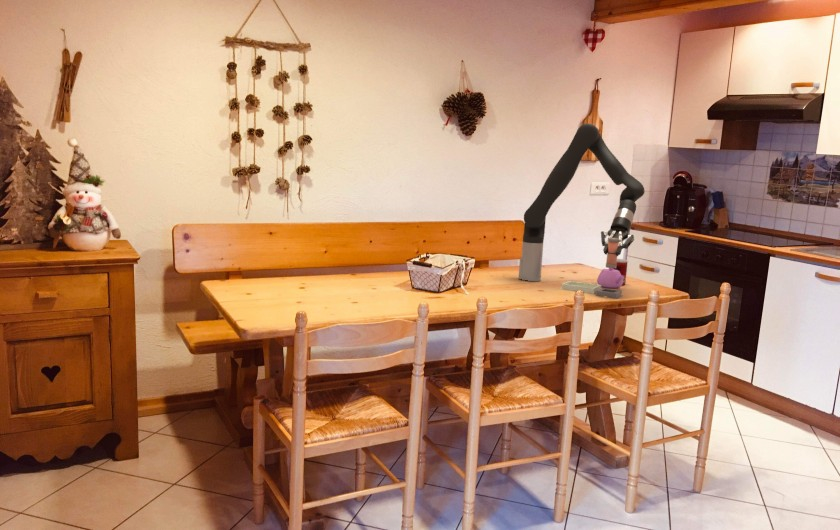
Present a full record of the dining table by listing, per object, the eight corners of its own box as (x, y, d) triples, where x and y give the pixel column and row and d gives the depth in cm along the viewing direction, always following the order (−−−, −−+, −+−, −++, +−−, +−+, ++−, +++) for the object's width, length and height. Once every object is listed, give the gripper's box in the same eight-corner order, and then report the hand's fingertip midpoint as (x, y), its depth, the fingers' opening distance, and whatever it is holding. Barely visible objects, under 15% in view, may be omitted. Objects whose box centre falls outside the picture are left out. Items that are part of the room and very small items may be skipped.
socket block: (593, 297, 286) (594, 291, 286) (601, 293, 295) (602, 287, 295) (616, 301, 282) (616, 294, 281) (623, 296, 291) (623, 290, 290)
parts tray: (561, 290, 298) (561, 283, 297) (569, 287, 306) (569, 280, 306) (593, 295, 291) (594, 288, 290) (600, 292, 299) (601, 285, 299)
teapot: (609, 284, 317) (611, 264, 315) (631, 291, 303) (633, 270, 302) (590, 285, 313) (592, 264, 311) (611, 292, 299) (613, 270, 298)
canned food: (623, 282, 323) (625, 259, 321) (626, 286, 315) (629, 261, 313) (606, 281, 324) (608, 258, 322) (609, 285, 316) (611, 260, 314)
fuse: (604, 267, 286) (607, 237, 284) (607, 266, 289) (610, 237, 287) (614, 268, 284) (617, 239, 282) (617, 267, 287) (620, 238, 285)
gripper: (604, 214, 293) (592, 245, 285) (638, 217, 286) (627, 250, 278) (606, 226, 298) (595, 257, 290) (640, 229, 291) (629, 262, 283)
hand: (611, 253), depth 284 cm, fingers closed on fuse, 4 cm apart
